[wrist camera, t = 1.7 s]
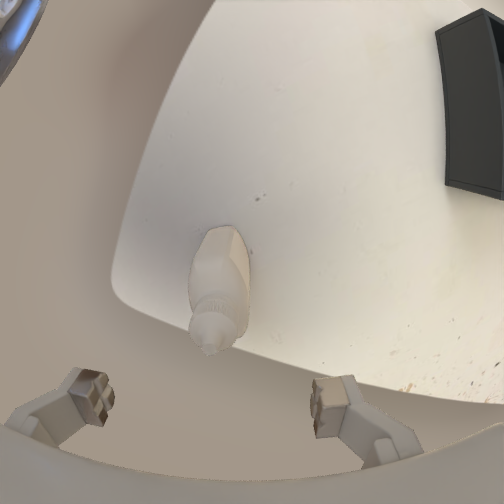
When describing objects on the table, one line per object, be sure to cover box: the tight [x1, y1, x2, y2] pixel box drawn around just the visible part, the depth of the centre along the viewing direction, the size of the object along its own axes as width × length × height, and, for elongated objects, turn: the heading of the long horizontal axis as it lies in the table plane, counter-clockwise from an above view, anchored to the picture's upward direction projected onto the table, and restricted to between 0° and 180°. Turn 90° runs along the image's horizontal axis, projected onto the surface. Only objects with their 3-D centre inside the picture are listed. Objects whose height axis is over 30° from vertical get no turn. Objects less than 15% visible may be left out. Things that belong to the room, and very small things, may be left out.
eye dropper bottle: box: [188, 226, 250, 356], centre depth 18 cm, size 4×6×12 cm
